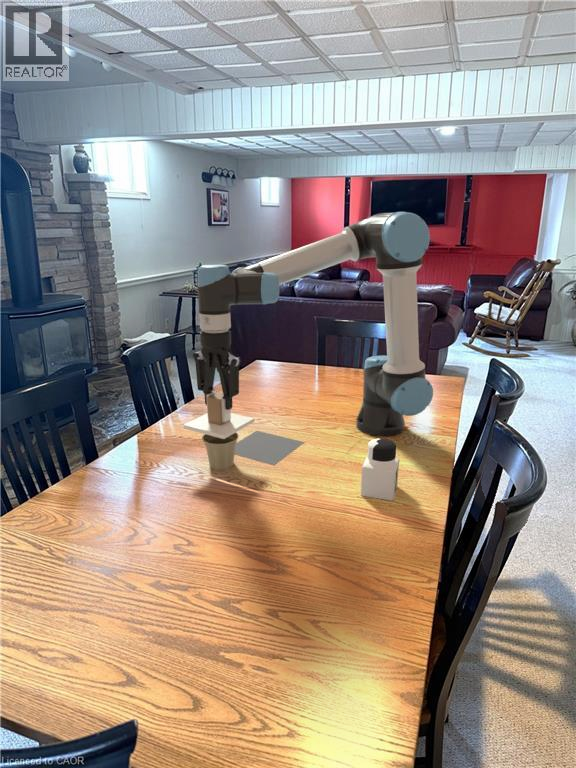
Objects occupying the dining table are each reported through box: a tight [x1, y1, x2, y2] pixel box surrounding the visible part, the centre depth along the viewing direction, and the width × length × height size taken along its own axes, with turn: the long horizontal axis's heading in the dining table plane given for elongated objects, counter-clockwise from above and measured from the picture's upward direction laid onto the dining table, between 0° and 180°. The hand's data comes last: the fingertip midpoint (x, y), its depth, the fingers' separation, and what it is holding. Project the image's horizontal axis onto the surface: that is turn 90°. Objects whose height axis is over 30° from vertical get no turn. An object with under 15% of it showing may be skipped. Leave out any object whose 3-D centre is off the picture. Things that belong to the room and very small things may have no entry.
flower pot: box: [201, 432, 239, 471], centre depth 132 cm, size 9×9×9 cm
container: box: [360, 437, 400, 502], centre depth 119 cm, size 8×8×13 cm
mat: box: [234, 430, 305, 466], centre depth 143 cm, size 17×17×1 cm
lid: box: [182, 392, 255, 439], centre depth 128 cm, size 13×13×8 cm
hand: (219, 418), depth 129 cm, fingers closed on lid, 4 cm apart
